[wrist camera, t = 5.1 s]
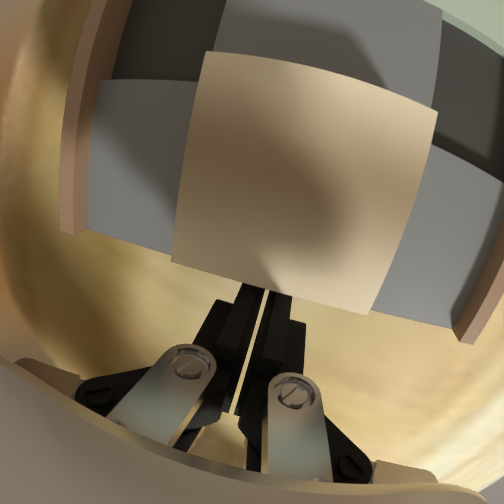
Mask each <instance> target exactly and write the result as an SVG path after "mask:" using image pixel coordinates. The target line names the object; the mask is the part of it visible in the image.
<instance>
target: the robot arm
mask: <svg viewBox="0 0 504 504" xmlns="http://www.w3.org/2000/svg"><path fill="white" fill-rule="evenodd" d="M264 291H265V289H264V288H260V287H257V286H253V285H250V284H246V283H242V286H241V288H240V290H239V292H238V295H237V297H236V299H235V301H234V304H232V303H229V302H225V301H222V300H219V299H217V300H216V301H215V302H214V304H213V306H212V308H211V310H210V312H209V313H208V315H207V317H206V319H205V321H204V323H203V324H202V326H201V328H200V330H199V332H198V334H197V336H196V337H195V339H194V341H193V343H192V344H180V345H176V346H173V347H171V348H170V349H168V350H167V351H166V352H165V353H164V354H163V355H162V356H161V357H160V358H159V360H158V361H157V362H156V363H155V364H154V365H153V366H151V367H146V368H141V369H137V370H132V371H127V372H122V373H117V374H112V375H106V376H101V377H95V378H91V379H88V380H83V379H81V376H80V375H77V374H74V373H71V372H68V371H65V370H62V369H59V368H56V367H53V366H50V365H48V364H45V363H42V362H40V361H37V360H34V359H31V358H21V359H19V360H17V361H15V362H14V363H13V362H12V361H10V360H7V359H5V358H3V357H1V356H0V504H487V502H486V500H485V499H484V498H483V497H482V496H481V495H480V494H479V493H477V492H475V491H473V490H471V489H468V488H464V487H461V486H457V485H452V484H444V483H438V481H437V479H436V477H435V476H434V475H433V474H432V473H431V472H430V471H427V470H423V469H418V468H412V467H407V466H403V465H398V464H393V463H389V462H385V461H381V460H376V461H375V462H372V461H370V460H369V458H368V457H367V456H366V455H365V454H364V453H363V452H362V451H361V450H360V449H359V448H358V447H357V446H356V445H355V444H354V443H353V442H352V441H351V440H350V439H349V438H348V437H347V436H346V435H344V434H343V433H342V432H341V431H340V430H339V429H338V428H337V427H336V426H335V425H334V424H333V423H332V422H331V421H330V420H329V419H328V418H327V417H326V416H325V415H324V411H323V404H322V398H321V393H320V391H319V388H318V387H317V385H316V384H315V383H314V382H313V381H312V380H311V379H309V378H308V377H306V376H304V375H303V369H304V354H305V337H306V324H305V323H302V322H298V321H295V320H291V319H289V318H290V310H291V302H292V296H290V295H286V294H282V293H279V292H275V291H271V290H270V291H269V294H268V298H267V301H266V305H265V308H264V312H263V315H262V319H261V322H260V326H259V329H258V332H257V336H256V339H255V343H254V346H253V350H252V353H251V357H250V360H249V364H248V367H247V371H246V374H245V378H244V381H243V385H242V388H241V392H240V395H239V398H238V402H237V405H236V408H235V412H234V415H237V416H240V418H239V421H238V425H239V426H238V428H239V429H240V430H241V432H242V433H243V434H244V436H245V437H246V438H245V442H244V455H243V469H241V468H236V467H232V466H229V465H225V464H221V463H218V462H214V461H211V460H207V459H204V458H201V457H198V456H195V455H192V454H190V452H191V450H192V449H193V447H194V446H195V444H196V442H197V441H198V439H199V437H200V436H201V434H202V433H203V431H204V428H205V426H206V425H209V424H212V423H215V422H217V421H218V420H219V419H220V416H221V413H222V411H223V412H226V413H229V410H230V407H231V403H232V400H233V397H234V394H235V391H236V387H237V384H238V381H239V378H240V374H241V371H242V368H243V364H244V361H245V358H246V355H247V351H248V348H249V345H250V341H251V338H252V334H253V331H254V327H255V324H256V320H257V316H258V313H259V309H260V306H261V302H262V298H263V295H264Z"/></svg>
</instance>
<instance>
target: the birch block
mask: <svg viewBox="0 0 504 504" xmlns="http://www.w3.org/2000/svg"><path fill="white" fill-rule="evenodd" d="M437 115H438V112H437V111H435V110H433V109H431V108H429V107H426V106H424V105H422V104H420V103H418V102H415V101H413V100H411V99H408V98H406V97H404V96H401V95H399V94H396V93H394V92H391V91H389V90H386V89H383V88H380V87H378V86H375V85H372V84H369V83H366V82H363V81H360V80H357V79H354V78H351V77H348V76H344V75H341V74H337V73H334V72H330V71H326V70H322V69H319V68H314V67H310V66H306V65H302V64H297V63H292V62H287V61H282V60H276V59H271V58H265V57H258V56H251V55H243V54H235V53H225V52H213V51H206V53H205V57H204V61H203V65H202V69H201V73H200V78H199V82H198V87H197V91H196V96H195V101H194V105H193V110H192V115H191V120H190V126H189V131H188V136H187V142H186V148H185V154H184V160H183V166H182V173H181V179H180V186H179V193H178V201H177V209H176V217H175V225H174V234H173V244H172V254H171V262H175V263H178V264H181V265H185V266H188V267H191V268H195V269H198V270H201V271H205V272H208V273H211V274H215V275H218V276H222V277H225V278H229V279H232V280H236V281H239V282H243V283H246V284H250V285H253V286H257V287H260V288H264V289H268V290H271V291H275V292H279V293H282V294H286V295H290V296H294V297H297V298H301V299H305V300H309V301H312V302H316V303H320V304H324V305H328V306H332V307H336V308H340V309H344V310H348V311H352V312H356V313H360V314H364V315H368V313H369V311H370V309H371V307H372V305H373V303H374V301H375V299H376V297H377V295H378V292H379V290H380V288H381V286H382V284H383V281H384V279H385V277H386V275H387V272H388V270H389V268H390V265H391V263H392V260H393V258H394V255H395V253H396V251H397V248H398V245H399V243H400V240H401V238H402V235H403V232H404V230H405V227H406V224H407V221H408V219H409V216H410V213H411V210H412V207H413V204H414V201H415V198H416V195H417V192H418V189H419V185H420V182H421V179H422V175H423V172H424V168H425V165H426V161H427V157H428V154H429V150H430V146H431V142H432V137H433V133H434V129H435V124H436V119H437Z"/></svg>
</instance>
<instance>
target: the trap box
mask: <svg viewBox="0 0 504 504" xmlns="http://www.w3.org/2000/svg"><path fill="white" fill-rule="evenodd" d="M206 51H213V52H225V53H235V54H243V55H251V56H258V57H265V58H271V59H276V60H282V61H287V62H292V63H297V64H302V65H306V66H310V67H314V68H319V69H322V70H326V71H330V72H334V73H337V74H341V75H344V76H348V77H351V78H354V79H357V80H360V81H363V82H366V83H369V84H372V85H375V86H378V87H380V88H383V89H386V90H389V91H391V92H394V93H396V94H399V95H401V96H404V97H406V98H408V99H411V100H413V101H415V102H418V103H420V104H422V105H424V106H426V107H429V108H431V109H433V110H435V111H437V112H438V115H437V119H436V124H435V129H434V133H433V137H432V142H431V146H430V150H429V154H428V157H427V161H426V165H425V168H424V172H423V175H422V179H421V182H420V185H419V189H418V192H417V195H416V198H415V201H414V204H413V207H412V210H411V213H410V216H409V219H408V221H407V224H406V227H405V230H404V232H403V235H402V238H401V240H400V243H399V245H398V248H397V251H396V253H395V255H394V258H393V260H392V263H391V265H390V268H389V270H388V272H387V275H386V277H385V279H384V281H383V284H382V286H381V288H380V290H379V292H378V295H377V297H376V299H375V301H374V303H373V305H372V307H371V309H370V310H373V311H377V312H381V313H385V314H389V315H393V316H397V317H402V318H406V319H410V320H414V321H418V322H423V323H427V324H431V325H436V326H440V327H445V328H449V329H452V330H453V332H454V333H455V335H456V337H457V339H458V341H459V342H461V343H467V344H472V345H473V344H474V342H475V341H476V339H477V338H478V336H479V335H480V333H481V332H482V330H483V328H484V327H485V325H486V323H487V322H488V320H489V318H490V317H491V315H492V313H493V311H494V310H495V308H496V306H497V304H498V302H499V300H500V299H501V297H502V295H503V293H504V0H92V2H91V5H90V7H89V10H88V13H87V16H86V19H85V22H84V25H83V29H82V32H81V35H80V39H79V42H78V46H77V50H76V54H75V58H74V62H73V66H72V71H71V76H70V81H69V86H68V92H67V98H66V104H65V111H64V118H63V127H62V137H61V149H60V166H59V220H60V231H62V232H64V233H67V234H70V235H73V236H75V235H76V234H78V233H80V232H82V231H84V230H86V229H89V230H92V231H95V232H98V233H101V234H104V235H108V236H111V237H114V238H117V239H120V240H123V241H127V242H130V243H133V244H136V245H139V246H143V247H146V248H149V249H152V250H156V251H159V252H162V253H166V254H169V255H171V254H172V244H173V234H174V225H175V217H176V209H177V201H178V193H179V186H180V179H181V173H182V166H183V160H184V154H185V148H186V142H187V136H188V131H189V126H190V120H191V115H192V110H193V105H194V101H195V96H196V91H197V87H198V82H199V78H200V73H201V69H202V65H203V61H204V57H205V53H206Z"/></svg>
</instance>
